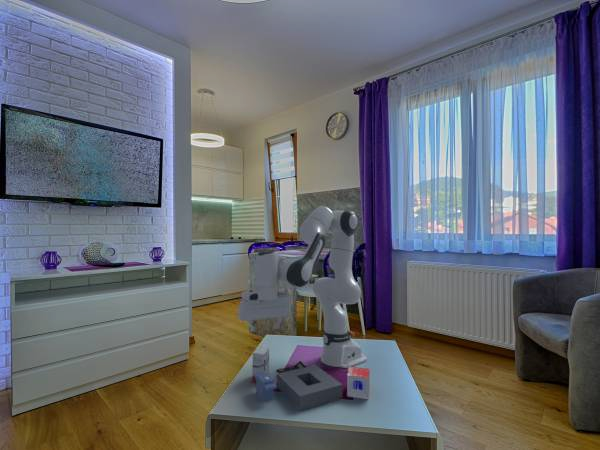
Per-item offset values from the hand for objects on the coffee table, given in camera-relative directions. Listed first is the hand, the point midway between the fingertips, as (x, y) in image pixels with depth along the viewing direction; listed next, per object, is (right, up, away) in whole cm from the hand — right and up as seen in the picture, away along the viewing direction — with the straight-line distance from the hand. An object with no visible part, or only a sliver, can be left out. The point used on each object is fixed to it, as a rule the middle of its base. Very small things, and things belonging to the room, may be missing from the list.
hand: (264, 330), depth 117 cm
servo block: (0, -24, -1) cm, 24 cm away
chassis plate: (+16, -25, +3) cm, 30 cm away
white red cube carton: (+36, -25, +3) cm, 44 cm away
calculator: (+10, -25, +18) cm, 33 cm away
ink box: (-3, -25, +13) cm, 28 cm away
